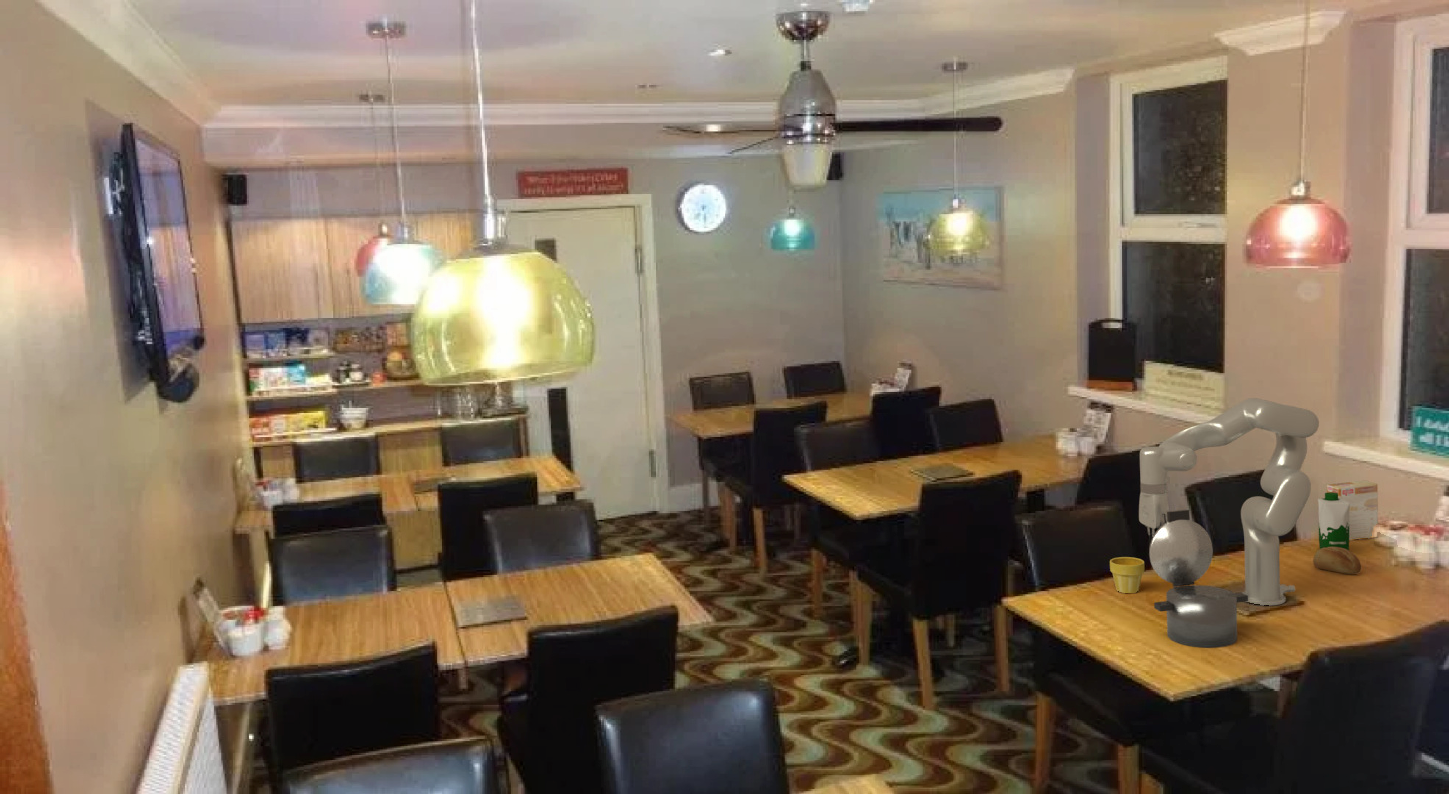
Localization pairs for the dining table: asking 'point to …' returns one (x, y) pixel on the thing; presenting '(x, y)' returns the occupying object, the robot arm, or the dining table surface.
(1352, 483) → the coffeecake box
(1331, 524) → the milk carton
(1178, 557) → the cooker lid
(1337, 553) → the bread roll
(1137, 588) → the plant pot
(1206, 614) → the pressure cooker
